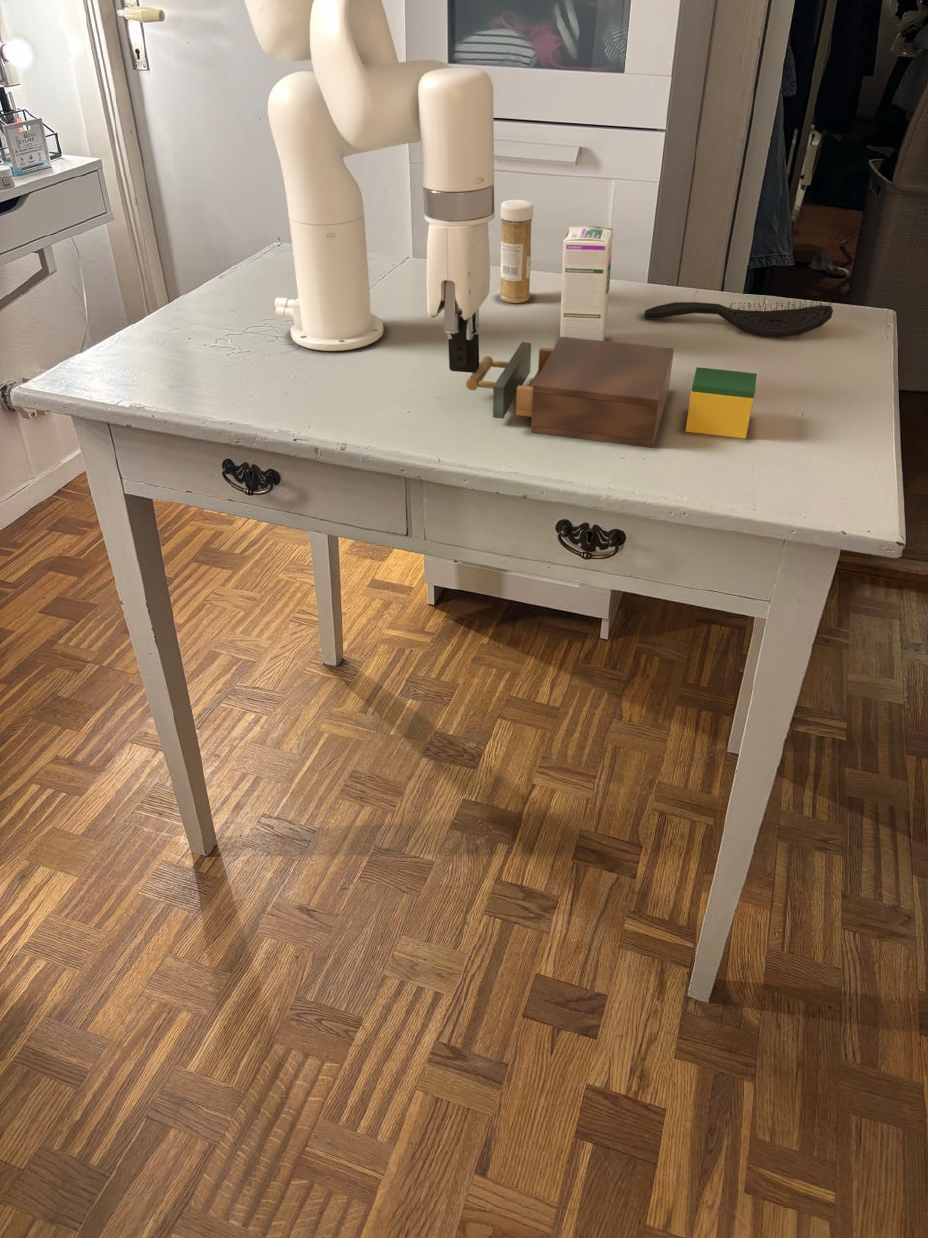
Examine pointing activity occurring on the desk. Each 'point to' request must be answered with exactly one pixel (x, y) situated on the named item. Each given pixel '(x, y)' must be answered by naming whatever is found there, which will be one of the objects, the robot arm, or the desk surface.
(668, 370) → the drawer unit
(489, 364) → the drawer
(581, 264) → the syrup box
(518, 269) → the sprinkles bottle
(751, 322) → the hairbrush
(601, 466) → the desk surface
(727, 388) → the sponge
